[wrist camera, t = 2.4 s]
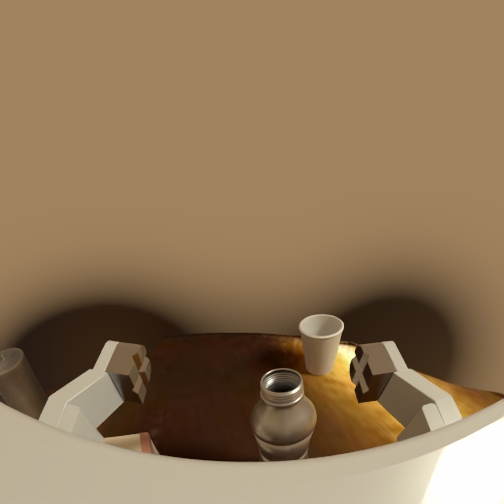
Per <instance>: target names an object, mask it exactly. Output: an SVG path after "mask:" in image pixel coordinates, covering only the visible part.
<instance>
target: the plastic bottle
mask: <svg viewBox="0 0 504 504" xmlns="http://www.w3.org/2000/svg"><path fill="white" fill-rule="evenodd" d="M316 420H317V414H316V411H315V408H314V406H313V404H312V402H311V401H310V400H309V399H308V398H307V397H305V396H304V388H303V379H302V376H301V375H300V374H299V373H298V372H297V371H295V370H292V369H287V368H280V369H274V370H271V371H269V372H267V373H266V374H265V375H264V376H263V377H262V379H261V399H260V400H259V402H258V403H257V404H256V405H255V407H254V408H253V411H252V414H251V417H250V423H251V426H252V430H253V433H254V435H255V438H256V440H257V443H258V446H259V451H260V462H273V461H290V460H302V459H308V454H307V451H308V446H309V441H310V438H311V435H312V433H313V430H314V427H315V424H316Z"/></svg>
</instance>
